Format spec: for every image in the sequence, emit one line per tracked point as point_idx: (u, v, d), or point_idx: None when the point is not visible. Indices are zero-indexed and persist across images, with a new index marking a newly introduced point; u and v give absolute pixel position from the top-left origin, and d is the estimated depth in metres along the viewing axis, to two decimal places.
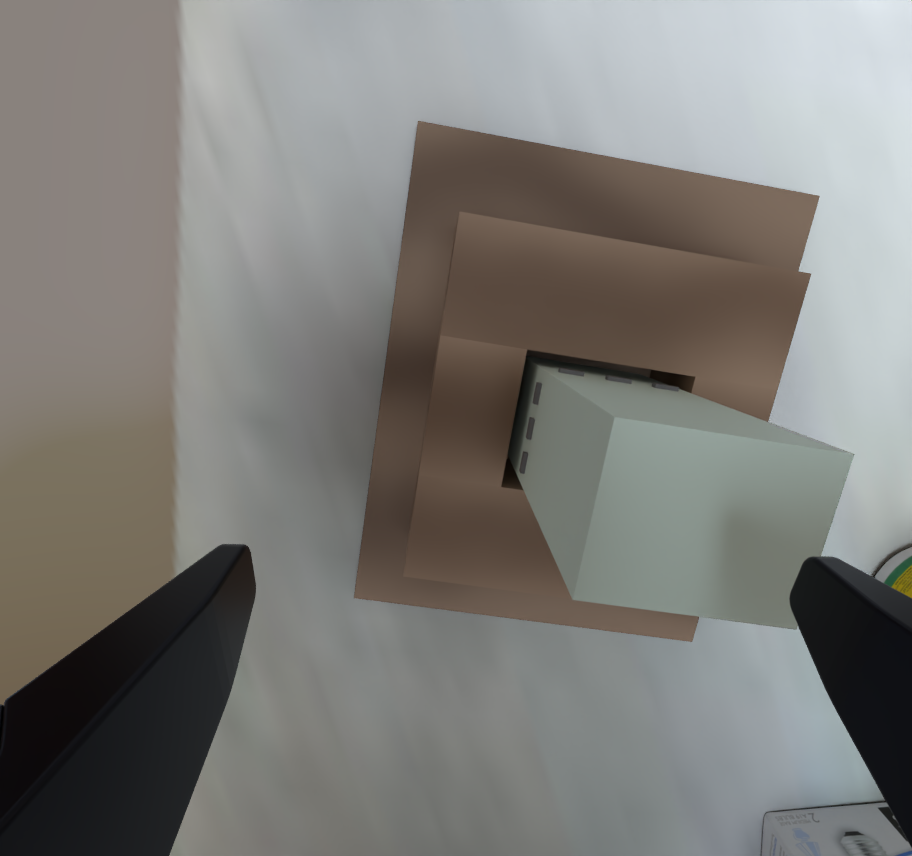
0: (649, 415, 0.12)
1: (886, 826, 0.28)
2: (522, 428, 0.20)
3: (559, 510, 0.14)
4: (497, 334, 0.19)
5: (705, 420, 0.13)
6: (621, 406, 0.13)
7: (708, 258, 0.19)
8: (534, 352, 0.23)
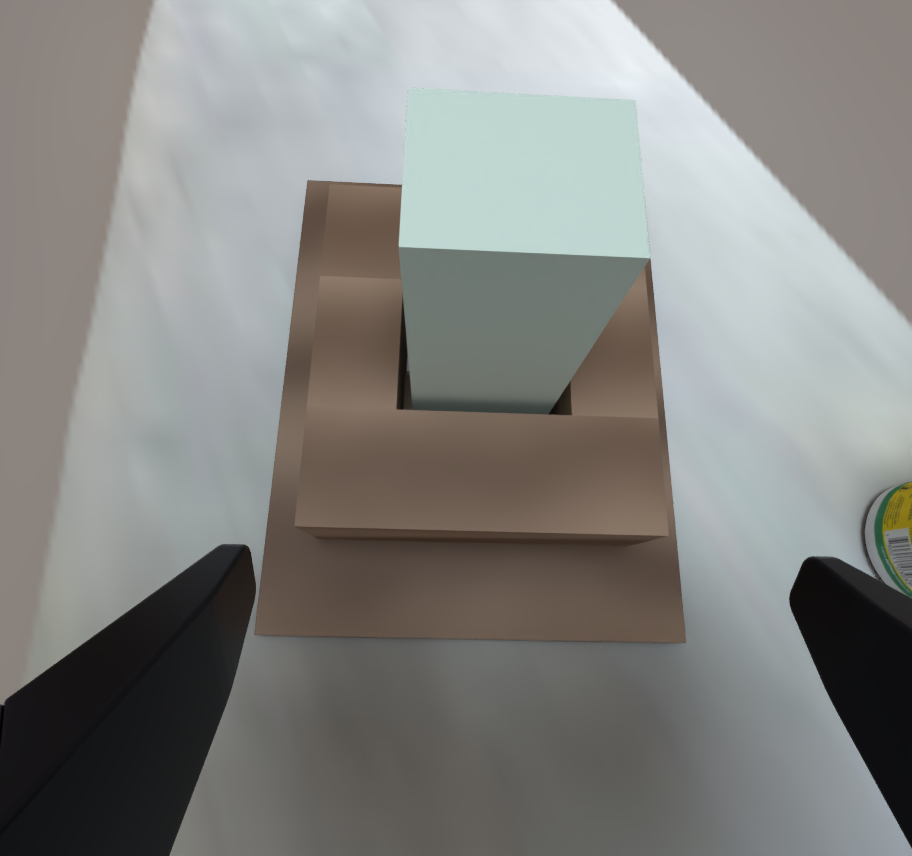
0: None
1: None
2: None
3: None
4: (373, 269, 0.20)
5: None
6: None
7: None
8: None
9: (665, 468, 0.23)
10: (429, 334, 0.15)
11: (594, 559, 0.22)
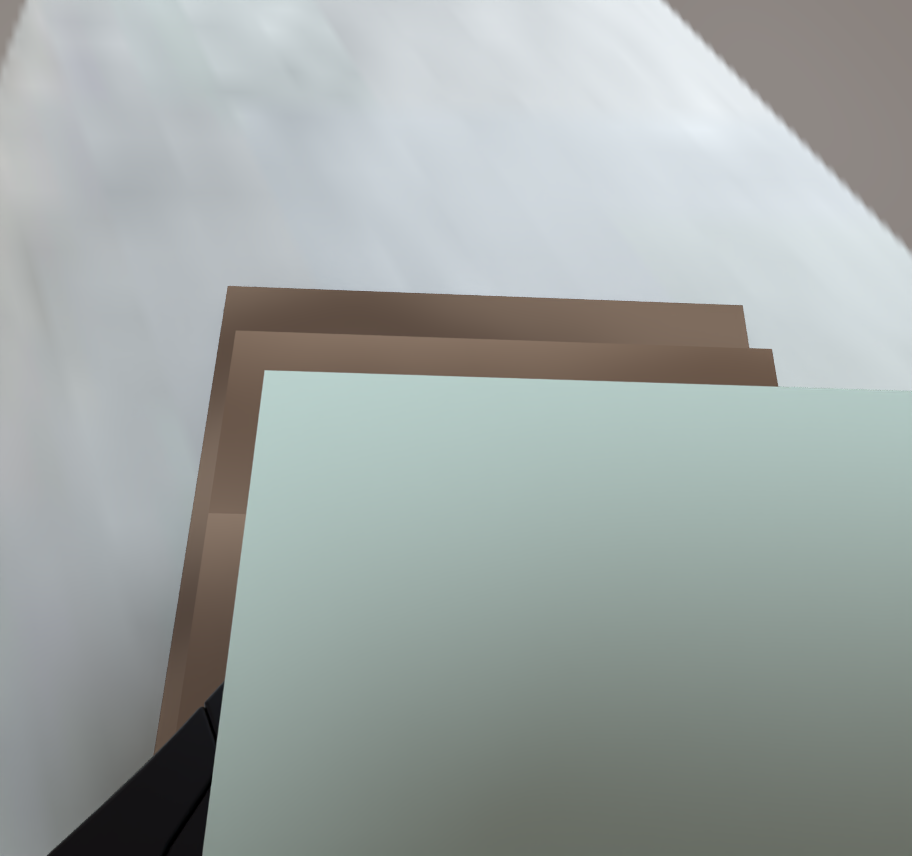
0: None
1: None
2: None
3: None
4: None
5: None
6: None
7: (615, 347, 0.13)
8: None
9: None
10: None
11: None
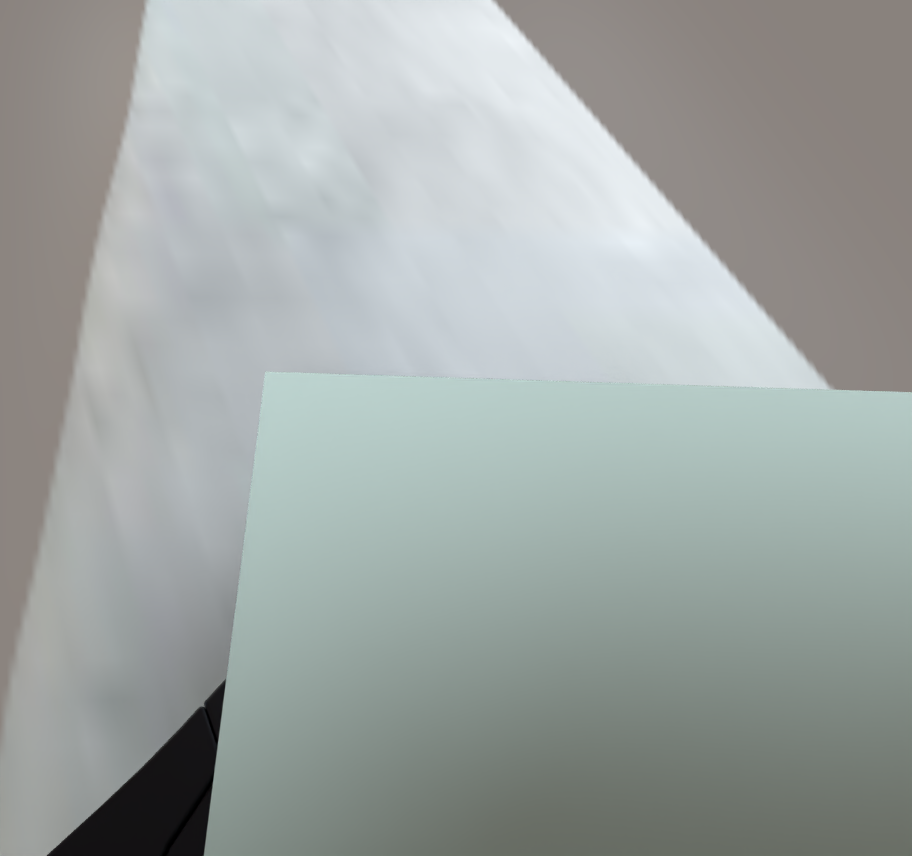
0: None
1: None
2: None
3: None
4: None
5: None
6: None
7: None
8: None
9: None
10: None
11: None
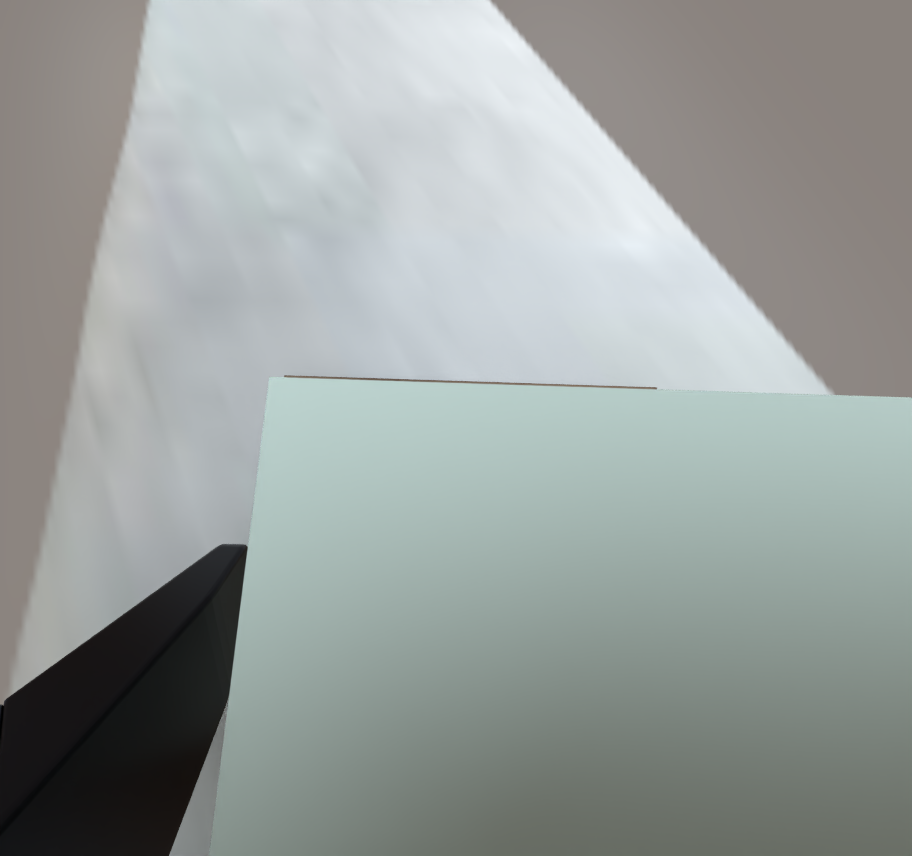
0: None
1: None
2: None
3: None
4: None
5: None
6: None
7: None
8: None
9: None
10: None
11: None
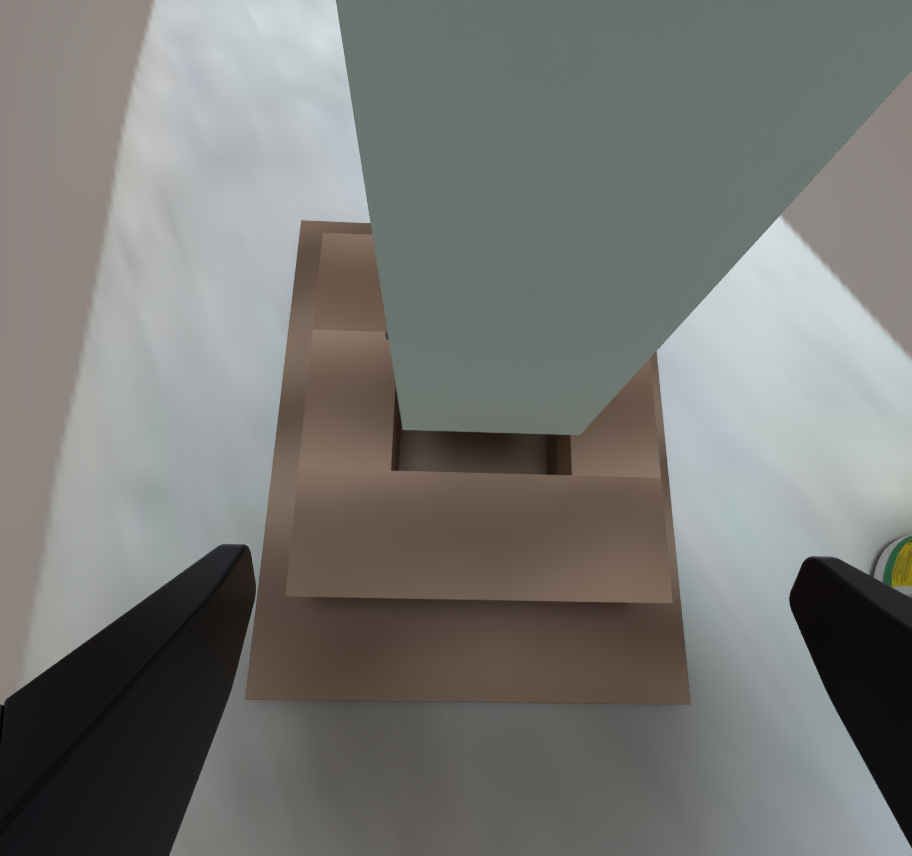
0: None
1: None
2: None
3: None
4: (367, 322, 0.20)
5: None
6: None
7: None
8: None
9: (668, 520, 0.22)
10: (419, 241, 0.07)
11: (595, 617, 0.21)
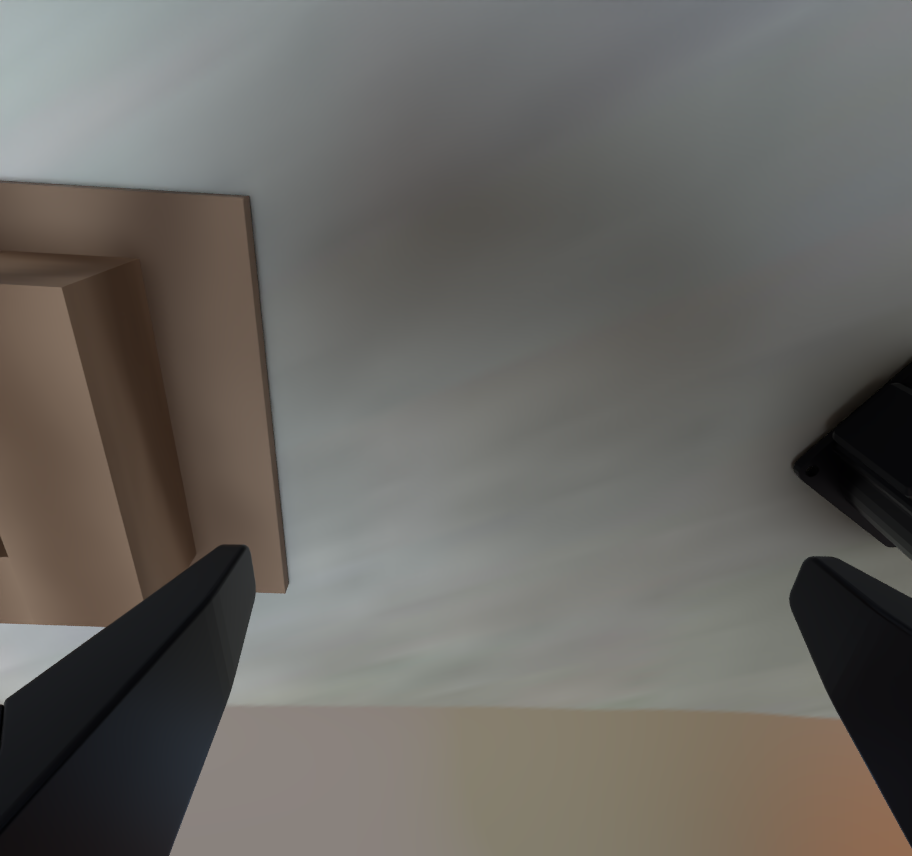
0: None
1: None
2: None
3: None
4: None
5: None
6: None
7: None
8: None
9: (19, 190, 0.17)
10: None
11: (163, 300, 0.18)
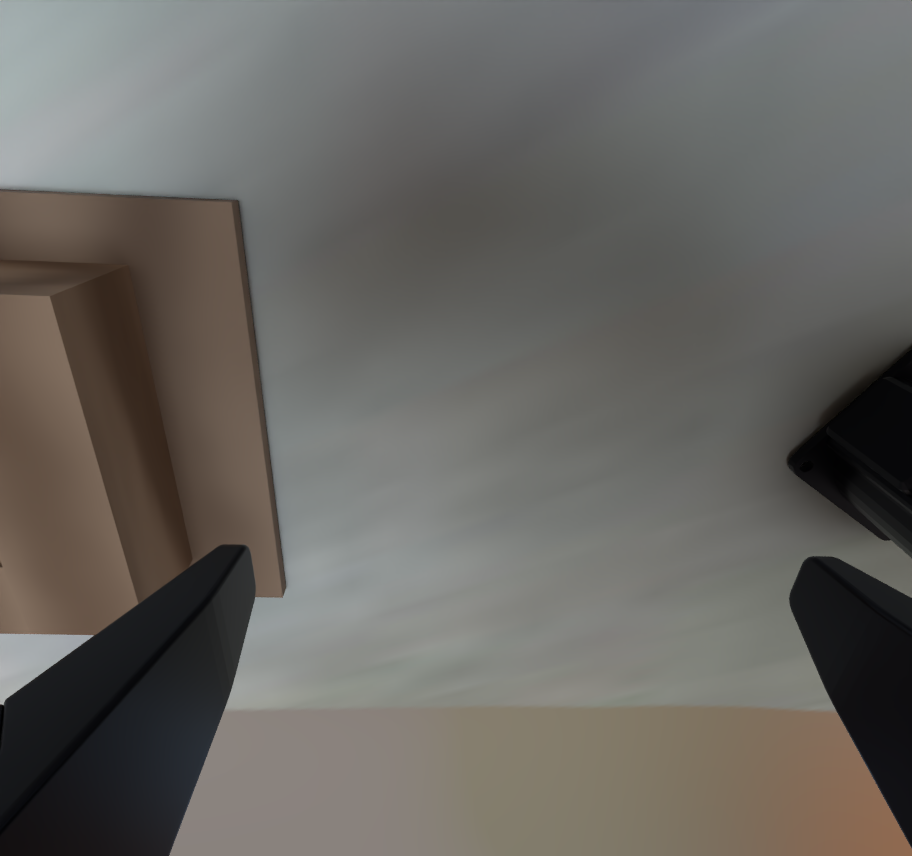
0: None
1: None
2: None
3: None
4: None
5: None
6: None
7: None
8: None
9: (6, 198, 0.17)
10: None
11: (154, 307, 0.18)
